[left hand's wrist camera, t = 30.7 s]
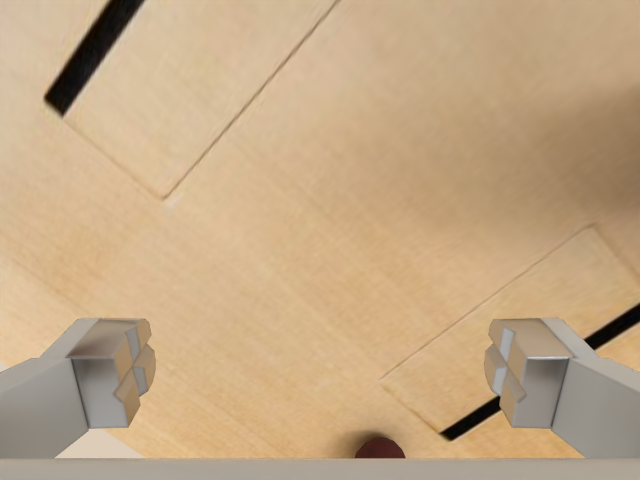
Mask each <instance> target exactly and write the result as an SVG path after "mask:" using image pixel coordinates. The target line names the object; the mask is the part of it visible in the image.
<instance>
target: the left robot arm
mask: <svg viewBox="0 0 640 480" xmlns="http://www.w3.org/2000/svg"><path fill="white" fill-rule="evenodd" d="M150 336H151V330H150V325H149V322H148V321H147V320H146V319H133V318H81V319H77V320H76V321H75V322H74V323H73V324H72V325H71V326H70V327H69V328H68V329H67V330H66V331H65V332H64V333H63V334H62V335H61V336H60V337H59V338H58V339H57V340H56V341H55V342H54V343H53V344H52V345H51V346H50V347H49V348H48V349H47V350H46V351H45V352H44V354H43V355H42V356H41V357H40V358H31V359H29V360H27V361H24V362H22V363H20V364H18V365H15V366H13V367H11V368H9V369H7V370H4V371H2V372H0V480H640V372H638V371H636V370H633V369H631V368H629V367H627V366H624V365H622V364H620V363H618V362H616V361H613V360H611V359H609V358H600V356H599V355H598V354H597V353H596V352H595V351H594V350H593V349H592V348H591V347H590V346H589V345H588V344H587V343H586V342H585V341H584V340H583V339H582V338H581V337H580V336H579V335H578V334H577V333H576V332H575V331H574V330H573V329H572V328H571V327H570V326H569V325H568V324H567V323H566V322H565V321H564V320H563V319H560V318H557V317H556V318H528V319H494V320H493V321H492V323H491V325H490V329H489V336H490V338H491V340H492V341H493V344H492V345H491V346H490V347H489V348H488V349H487V350H486V353H485V361H484V366H485V375H486V379H487V382H488V384H489V386H490V388H491V390H492V391H493V392H494V393H496V394H497V395H499V396H500V397H501V400H500V407H501V409H502V411H503V412H504V414H505V416H506V418H507V420H508V422H509V423H510V425H511V427H512V428H545V429H551V431H553V432H554V433H555V434H556V435H558V436H559V437H560V438H561V439H563V440H564V441H565V442H567V443H568V444H569V445H570V446H572V447H573V448H574V449H575V450H577V451H578V452H579V453H580V454H582V455H583V456H584V457H586V458H477V459H125V458H124V459H123V458H122V459H121V458H120V459H118V458H114V459H113V458H111V459H108V458H107V459H105V458H97V459H96V458H95V459H94V458H89V459H88V458H86V459H85V458H80V459H79V458H77V459H76V458H66V459H65V458H63V459H62V458H61V459H60V458H56V459H55V457H56V456H57V455H58V454H60V453H61V452H62V451H63V450H65V449H66V448H67V447H69V446H70V445H71V444H72V443H74V442H75V441H76V440H77V439H79V438H80V437H81V436H83V435H84V434H85V433H86V432H88V429H94V428H128V427H129V425H130V423H131V422H132V420H133V418H134V416H135V414H136V412H137V411H138V409H139V407H140V400H139V397H140V396H141V395H143V394H144V393H146V392H147V391H148V390H149V388H150V386H151V384H152V382H153V378H154V374H155V366H156V359H155V353H154V350H153V349H152V348H151V347H150V346H149V345H148V344H147V341H148V340H149V338H150Z"/></svg>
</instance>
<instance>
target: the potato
mask: <svg viewBox="0 0 640 480" xmlns="http://www.w3.org/2000/svg"><path fill="white" fill-rule="evenodd" d="M355 459H406V458H405V455H404V453H403V451H402V449H401V448H400V447H399V446H398V445H397V444H396V443H395V442H394V441H392V440H390V439H387V438H376V439H373V440H371V441H369V442H367V443H365V444H364V445H363V446H362V447H361V448H360V449H359V451H358V452H357V453H356V456H355Z"/></svg>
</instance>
